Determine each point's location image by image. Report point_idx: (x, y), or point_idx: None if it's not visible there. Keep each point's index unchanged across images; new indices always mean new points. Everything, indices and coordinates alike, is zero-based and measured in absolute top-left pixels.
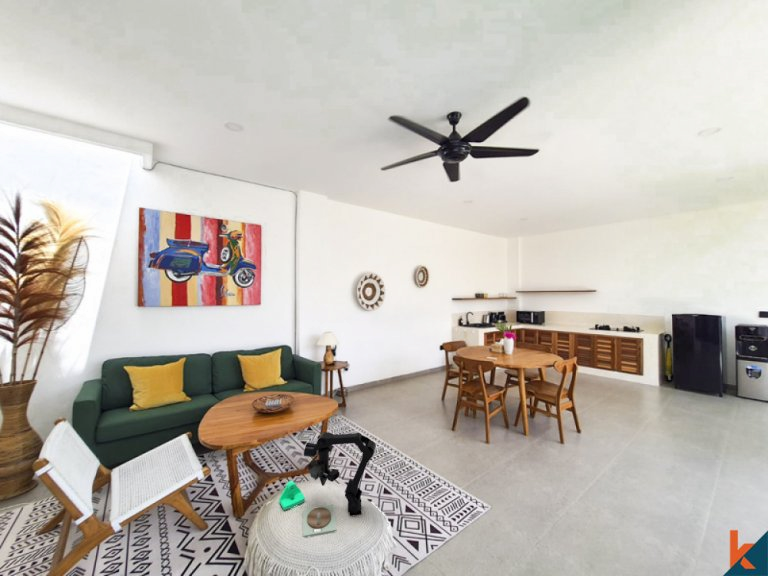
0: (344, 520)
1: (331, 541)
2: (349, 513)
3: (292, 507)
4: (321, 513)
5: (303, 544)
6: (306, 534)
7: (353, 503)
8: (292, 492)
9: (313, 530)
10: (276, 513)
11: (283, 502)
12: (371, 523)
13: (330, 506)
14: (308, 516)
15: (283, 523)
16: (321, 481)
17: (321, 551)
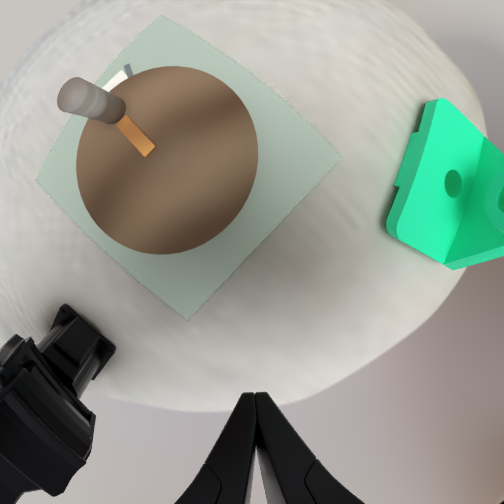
0: (62, 265)
1: (31, 121)
2: (72, 314)
3: (410, 144)
4: (162, 190)
5: (134, 7)
6: (149, 30)
7: (2, 346)
8: (479, 210)
9: (127, 71)
10: (437, 76)
11: (466, 129)
12: (4, 315)
13: (186, 297)
14: (230, 101)
15: (353, 29)
16: (272, 443)
17: (42, 57)
